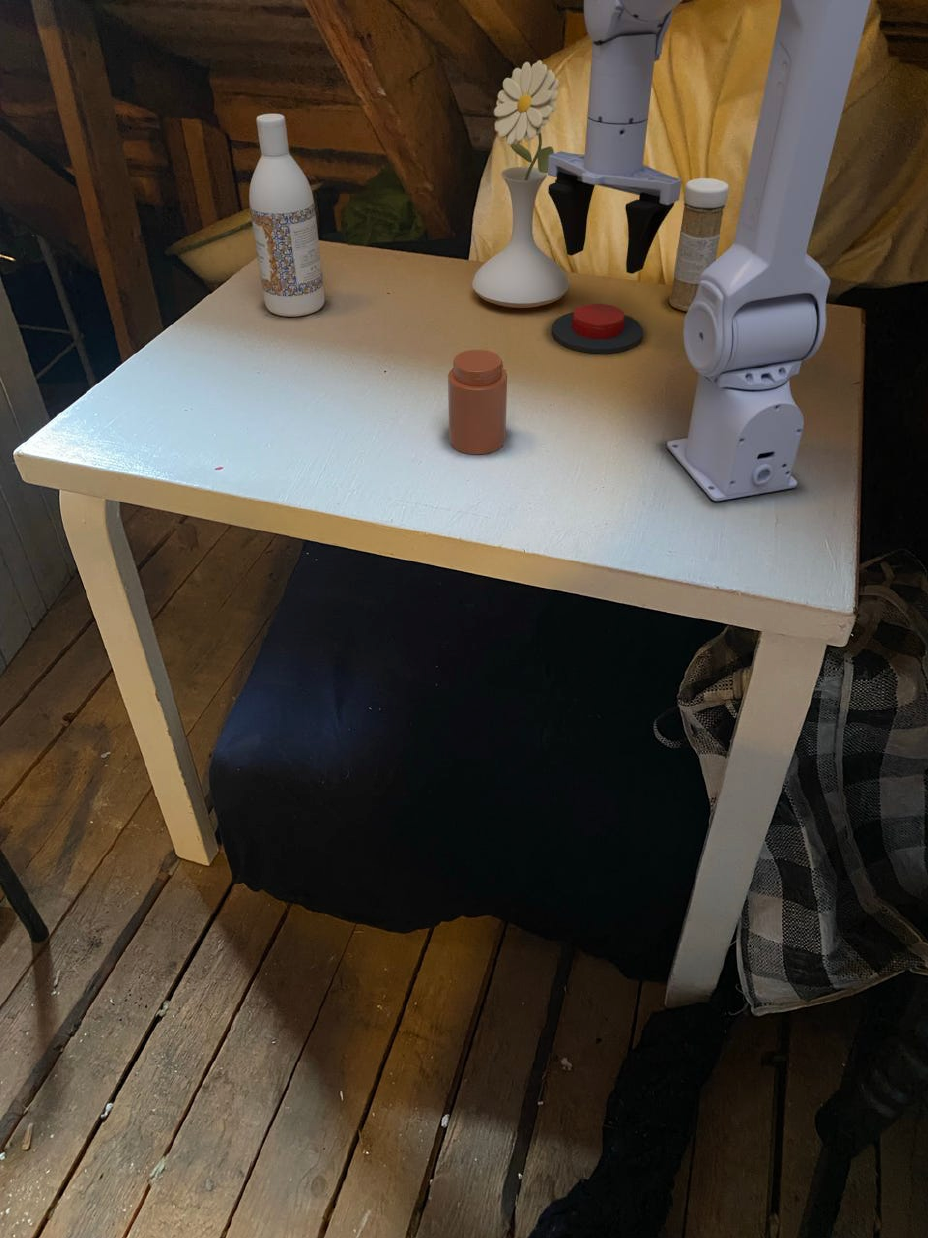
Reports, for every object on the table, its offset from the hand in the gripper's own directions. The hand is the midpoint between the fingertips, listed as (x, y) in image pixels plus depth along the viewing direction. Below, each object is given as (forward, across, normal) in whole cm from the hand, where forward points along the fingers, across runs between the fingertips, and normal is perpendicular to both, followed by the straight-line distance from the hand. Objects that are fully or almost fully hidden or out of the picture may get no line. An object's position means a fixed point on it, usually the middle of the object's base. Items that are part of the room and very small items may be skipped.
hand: (604, 261), depth 96 cm
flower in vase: (+8, -12, +2) cm, 15 cm away
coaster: (+8, 0, 0) cm, 8 cm away
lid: (+6, 0, 0) cm, 6 cm away
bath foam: (+8, -31, -17) cm, 36 cm away
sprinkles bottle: (+8, +3, +13) cm, 16 cm away
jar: (+8, +5, -25) cm, 27 cm away
